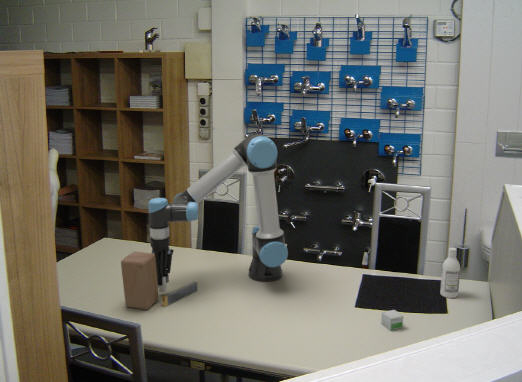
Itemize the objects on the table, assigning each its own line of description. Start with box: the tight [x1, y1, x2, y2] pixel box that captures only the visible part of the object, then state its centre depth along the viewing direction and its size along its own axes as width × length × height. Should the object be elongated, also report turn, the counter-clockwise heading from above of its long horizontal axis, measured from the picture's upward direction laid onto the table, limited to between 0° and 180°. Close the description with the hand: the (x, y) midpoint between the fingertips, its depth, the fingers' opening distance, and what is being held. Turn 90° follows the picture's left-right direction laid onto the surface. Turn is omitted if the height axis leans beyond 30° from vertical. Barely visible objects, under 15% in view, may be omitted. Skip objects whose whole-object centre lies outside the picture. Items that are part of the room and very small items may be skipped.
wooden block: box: [120, 251, 160, 310], centre depth 212 cm, size 10×10×20 cm
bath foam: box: [439, 247, 461, 299], centre depth 221 cm, size 7×7×20 cm
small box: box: [380, 309, 404, 331], centre depth 196 cm, size 6×6×5 cm
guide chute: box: [157, 273, 198, 308], centre depth 225 cm, size 18×19×4 cm
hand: (162, 291), depth 223 cm, fingers closed
